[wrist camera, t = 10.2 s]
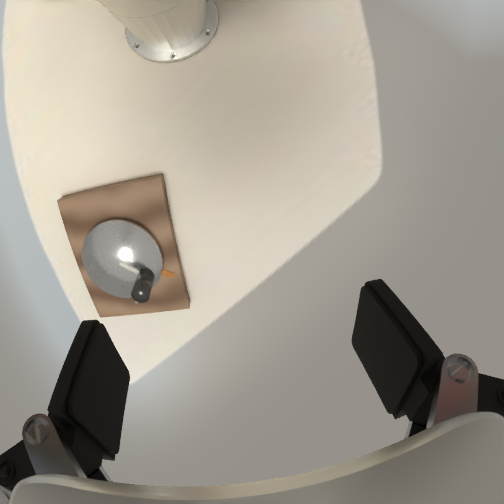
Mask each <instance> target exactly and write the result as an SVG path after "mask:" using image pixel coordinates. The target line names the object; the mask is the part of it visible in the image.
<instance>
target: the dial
mask: <svg viewBox="0 0 504 504" xmlns="http://www.w3.org/2000/svg"><path fill="white" fill-rule="evenodd" d="M82 261H83V265H84V268H85V270H86V272H87V274H88V276H89V277H90V279H91V280H92V281H93V282H94V284H95V285H97V286H98V287H99V288H100V289H102V290H103V291H105V292H106V293H108V294H111V295H113V296H116V297H121V298H133V300H134V301H136V302H138V303H145V302H147V301H148V300H149V297H150V293H151V290H152V289H153V288H154V287H155V286H156V284H157V283H158V281H159V279H160V276H161V272H162V268H163V256H162V252H161V248H160V246H159V244H158V242H157V240H156V239H155V237H154V236H153V235H152V234H151V233H150V232H149V231H148V230H147V229H146V228H145V227H143V226H142V225H140V224H138V223H136V222H134V221H131V220H128V219H121V218H115V219H109V220H105V221H103V222H101V223H99V224H98V225H96V226H95V227H94V228H93V229H92V230H91V231H90V233H89V234H88V235H87V237H86V238H85V241H84V243H83V247H82Z"/></svg>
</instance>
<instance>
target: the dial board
mask: <svg viewBox="0 0 504 504" xmlns="http://www.w3.org/2000/svg"><path fill="white" fill-rule="evenodd" d="M57 202H58V206H59V209H60V213H61V216H62V220H63V223H64V226H65V229H66V232H67V236H68V239H69V242H70V245H71V247H72V250H73V253H74V256H75V259H76V261H77V264H78V267H79V269H80V272H81V274H82V277H83V279H84V282H85V284H86V287H87V289H88V291H89V294H90V296H91V298H92V301H93V303H94V305H95V307H96V309H97V312H98V314H99V316H100V317H111V316H123V315H134V314H144V313H154V312H163V311H172V310H180V309H189V308H190V299H189V295H188V291H187V287H186V283H185V279H184V275H183V271H182V266H181V262H180V258H179V253H178V249H177V244H176V240H175V235H174V230H173V225H172V220H171V216H170V210H169V205H168V200H167V195H166V189H165V183H164V178H163V174H160V175H155V176H149V177H144V178H139V179H134V180H129V181H125V182H120V183H116V184H111V185H107V186H103V187H98V188H94V189H90V190H86V191H82V192H78V193H75V194H71V195H67V196H63V197H62V198H60V199H59V200H57ZM115 218H121V219H128V220H131V221H134V222H136V223H138V224H140V225H142V226H143V227H145V228H146V229H147V230H148V231H149V232H150V233H151V234H152V235H153V236H154V237H155V239H156V240H157V242H158V244H159V246H160V248H161V252H162V256H163V268H162V272H161V276H160V279H159V281H158V283H157V284H156V286H155V287H154V288H153V289H152V290H151V293H150V297H149V300H148V301H147V302H145V303H138V302H136V301H134V300H133V298H121V297H116V296H113V295H111V294H108V293H106V292H105V291H103V290H102V289H100V288H99V287H98V286H97V285H95V284H94V282H93V281H92V280H91V279H90V277H89V276H88V274H87V272H86V270H85V268H84V265H83V261H82V247H83V243H84V241H85V238H86V237H87V235H88V234H89V233H90V231H91V230H92V229H93V228H94V227H95V226H96V225H98V224H99V223H101V222H103V221H105V220H109V219H115Z"/></svg>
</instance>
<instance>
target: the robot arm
mask: <svg viewBox="0 0 504 504" xmlns="http://www.w3.org/2000/svg"><path fill="white" fill-rule="evenodd" d="M97 1H99V2H100V3H101V4H102V5H103V6H104V7H105V8H107V9H108V10H109V11H110V12H111V13H112V14H113V15H114V16H115V17H116V18H117V19H118V20H119V21H120V22H121V23H122V24H123V25H124V26H126V30H125V33H126V39H127V41H128V44H129V46H130V47H131V48H132V49H133V51H134V52H136V53H137V54H138V55H139V56H141V57H143V58H144V59H147V60H150V61H154V62H159V63H169V62H176V61H180V60H183V59H186V58H188V57H190V56H192V55H194V54H196V53H197V52H199V51H200V50H202V49H203V48H204V47H205V46H206V45H207V44H208V43H209V41H210V40H211V39H212V38H213V36H214V34H215V32H216V29H217V25H218V11H217V8H216V5H215V3H214V2H213V0H97ZM206 1H207V2H206ZM206 33H210V35H206ZM138 45H140V46H139V47H138V48H137V46H138ZM173 55H175V58H172V56H173ZM352 345H353V348H354V350H355V351H356V353H357V355H358V357H359V359H360V361H361V362H362V364H363V366H364V368H365V370H366V372H367V374H368V376H369V377H370V379H371V381H372V383H373V385H374V387H375V389H376V391H377V393H378V395H379V397H380V398H381V401H382V402H383V404H384V406H385V408H386V410H387V412H388V413H389V414H393V416H394V418H395V419H397V418H400V417H401V416H404V415H407V417H408V419H409V424H408V428H407V431H406V435H405V438H404V440H402V441H399V442H397V443H395V444H392V445H390V446H387V447H385V448H382V449H379V450H377V451H374V452H372V453H369V454H366V455H363V456H361V457H358V458H355V459H352V460H349V461H346V462H342V463H339V464H336V465H332V466H329V467H326V468H321V469H318V470H314V471H310V472H305V473H301V474H297V475H292V476H287V477H282V478H277V479H271V480H264V481H258V482H250V483H242V484H233V485H220V486H201V487H164V486H146V485H134V484H123V483H115V482H113V481H112V480H111V479H110V477H109V476H108V474H107V473H106V472H105V470H104V469H103V467H102V465H101V463H102V459H105V460H115V454H117V453H118V452H119V446H120V438H121V431H122V423H123V416H124V410H125V403H126V398H127V392H128V386H129V381H130V374H129V371H128V369H127V367H126V366H125V364H124V362H123V360H122V359H121V357H120V355H119V353H118V351H117V349H116V348H115V346H114V344H113V342H112V340H111V338H110V336H109V334H108V332H107V330H106V328H105V326H104V325H103V324H102V323H100V322H99V321H98V320H85V321H82V323H81V325H80V327H79V329H78V331H77V333H76V336H75V338H74V340H73V343H72V345H71V347H70V350H69V352H68V355H67V357H66V360H65V362H64V365H63V367H62V370H61V372H60V375H59V378H58V380H57V383H56V386H55V389H54V392H53V394H52V398H51V400H50V403H49V406H48V411H49V413H48V416H47V415H45V414H35V415H32V416H31V417H30V418H28V419H27V421H26V422H25V424H24V426H23V430H22V436H23V440H22V441H20V442H19V443H17V444H16V445H15V446H13V447H12V448H10V449H9V450H7V451H6V452H4V453H3V454H1V455H0V504H504V380H503V379H499V378H495V377H491V376H487V375H484V374H480V373H478V369H477V366H476V364H475V362H474V361H473V360H472V359H471V358H469V357H468V356H466V355H463V354H451V355H450V356H448V357H446V358H445V357H444V356H443V353H442V352H441V350H440V349H439V348H438V346H437V345H436V344H435V342H434V341H433V340H432V339H431V337H430V336H429V335H428V333H427V332H426V331H425V330H424V328H423V327H422V326H421V325H420V324H419V322H418V321H417V320H416V319H415V317H414V316H413V315H412V314H411V313H410V312H409V310H408V309H407V308H406V307H405V305H404V304H403V303H402V302H401V301H400V300H399V298H398V297H397V296H396V295H395V294H394V293H393V291H392V290H391V289H390V288H389V287H388V286H387V285H386V283H385V282H384V281H383V280H382V279H378V280H372V281H368V282H366V283H365V286H363V287H362V288H361V292H360V298H359V304H358V309H357V315H356V321H355V326H354V330H353V335H352Z"/></svg>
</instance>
